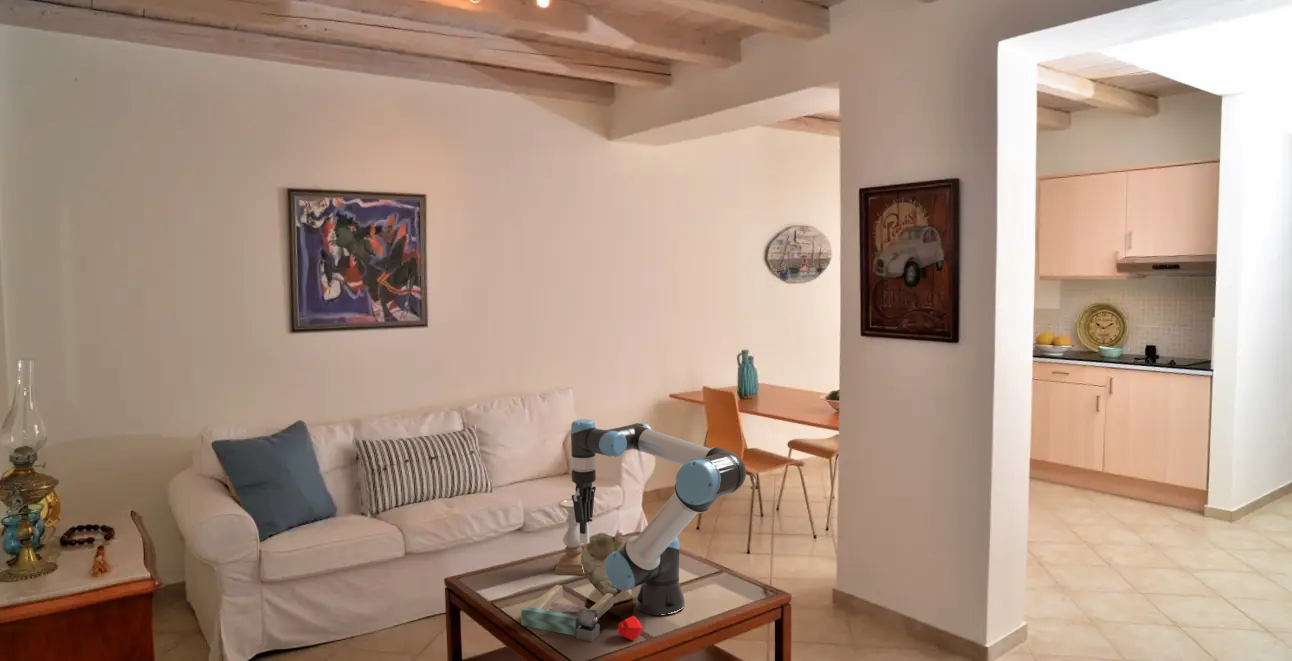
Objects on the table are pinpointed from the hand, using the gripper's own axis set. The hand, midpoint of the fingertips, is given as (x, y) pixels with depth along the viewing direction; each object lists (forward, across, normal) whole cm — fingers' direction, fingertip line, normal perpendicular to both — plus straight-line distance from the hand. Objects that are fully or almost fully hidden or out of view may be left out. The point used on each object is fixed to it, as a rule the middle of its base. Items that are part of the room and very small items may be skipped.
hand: (584, 542), depth 263 cm
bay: (+19, +11, -1) cm, 22 cm away
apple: (+20, +18, +23) cm, 35 cm away
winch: (+20, +22, +12) cm, 32 cm away
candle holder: (+19, -24, -16) cm, 35 cm away
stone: (+20, +14, 0) cm, 24 cm away
